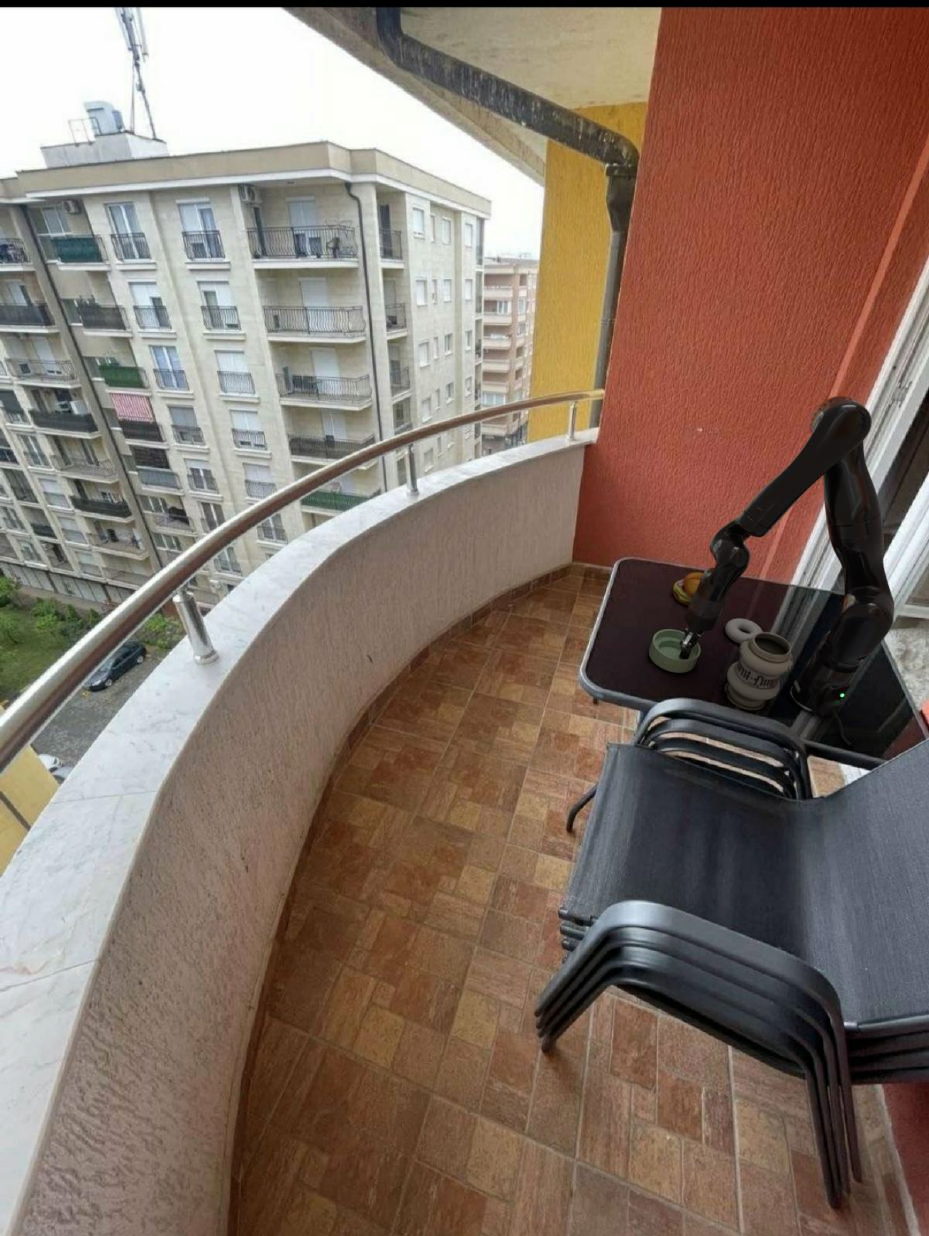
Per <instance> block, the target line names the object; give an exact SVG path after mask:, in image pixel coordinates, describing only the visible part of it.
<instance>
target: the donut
mask: <svg viewBox="0 0 929 1236" xmlns="http://www.w3.org/2000/svg"><path fill="white" fill-rule="evenodd" d="M724 627H725V628H724V629H725V633H726V635H727V637H728V638H729V639H730V640H732V641H733V642H734V643H737V644H739V645H741V643H742V642H743V641H744V640H746V639H748V638H751V637H753V636H754V635H755V634H757V633H760V632H764V631H763V630H762V628H761V627H760V626H759V625H758V624H757V623H755V622H754V621H752V620H749V619H747V618H740V617H739V618H733V619H731V620H729V621H727V623H726V624H725V626H724Z"/></svg>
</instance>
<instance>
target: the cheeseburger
mask: <svg viewBox="0 0 929 1236" xmlns="http://www.w3.org/2000/svg"><path fill="white" fill-rule="evenodd" d="M702 575H703V573H702V572H699V571H697V572H696V571H695V572H691V573H688V574H687V575H685V577H683V578H682V579H680V580H677V581H676V582H675V583H674V585H673V589H672V593H673V596H674V599H675V600H677V601H678V602H679V603H681V604H683V605H685V606H689V603H690V601H691V598H692V596H693V594H694V592H695V591H696V589H697V587H698V584H699V582H700V579H701V577H702Z"/></svg>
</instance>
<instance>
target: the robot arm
mask: <svg viewBox="0 0 929 1236" xmlns="http://www.w3.org/2000/svg"><path fill="white" fill-rule="evenodd" d="M872 422H873V421H872V415H871V413H870V411H869V409H868V408H867V407H865V406H864V405H863V404H862V403H861V402H860V401H859V400H857V399H855V398H852V397H850V396H846V395H845V396H844V395H837V396H832V397H829V398H827V399H826V400H824V401H822V402H821V403H820V404H819V405H818V406H817V407H816V408H815V410H814V411H813V413H812V414H811V418H810V420H809V426H808V427H809V432H810V435H809V438H808V439H807V441H806V443H805V444H804V446H803V447H802V448H801V450H800V451H799V453H798V454H797V455H796V456H795V458H794V459H793V460H792V461H791V462H790V463H789V464H788V465H787V467H785V468H784V469H783V470H782V471H781V472H779V473H778V474H777V475H776V476H775V477H774V478H773V479H771V480H770V481H769V482H768V483H767V484H765V486H764V487H762V488H761V489H760V490H759V491H758V492H757V493H756V495H755V496H754V497H753V498H752V499H751V500H750V502H749V503H748V504H747V505H746V507H744V509H743V510H742V511H741V513H740V514H739V515H737V516H736V517H734V518H733V519H732V520H731V521H729V522H728V523H726V524H725V525H724V526H722V527H721V528H720V529H719V530H718V531H717V532H716V533H715V534H714V535H713V537H712V538H711V540H710V543H709V551H710V554H711V556H712V557H713V560H714V562H715V566H714V567H709V568H707V569H705V570H704V572H703V573H702V574H703V575H702V577H701V579H700V582H699V584H698V587H697V589H696V591H695V592H694V594H693V596H692V598H691V601H690V603H689V605H687V607H686V608H687V609H686V611H685V613H684V616H683V618H684V619H683V620H684V622H685V623H686V625H687V626H686V628H685V629H684V631H683V632H684V633H685V635H684V637H683V640H681V641H680V642H679V648H680V650H681V652H680V655H679V658H680V659H682V660H686V659H688V658H689V656H690V654H691V652H692V650H693V648H695V646H696V644H697V643H698V644H699V642H700V641H701V639H702V637H703V635H704V634H705V633H706V632H710V631H712V630H713V629H714V628H715V627H716V625H717V622H718V621H719V618H720V616H721V615H722V612H723V610H724V607H725V605H726V601H727V598H728V596H729V594H730V592H731V590H732V587H733V585H735V583H736V582H737V581H738V580H739V579H740V578H741V576H742V575H744V573H745V572H746V570H747V569H748V567H749V565H750V564H751V563H750V562H751V551H750V549H749V547H748V546H747V545H746V544H747V543H745V542H746V541H747V540H748V539H749V538H750V537H754V538H763V537H765V536H766V535H768V534H769V533H770V532H771V531H772V529H773V528H774V527H775V526H776V525H777V524H778V523H779V522H780V520H782V518H783V517H784V516H785V515H786V513H788V511H789V510H790V509H791V508H792V507H793V506H794V505H795V504H796V502H797V501H798V500H800V499H801V497H802V496H804V494H805V493H806V492H807V491H808V490H809V489H810V488H811V487H813V485H814V484H815V483H816V482H817V481H818V480H819V479H821V478H822V486H823V487H822V489H823V502H824V513H825V520H826V526H827V533H828V538H829V542H830V546H831V547H832V550H833V552H834V554H835V556H836V558H837V560H838V562H839V563H840V566H841V569H842V573H843V585H844V594H843V595H844V597H843V603H842V609H841V613H840V614H839V617H838V618H837V619H836V621H835V623H834V625H833V626H832V627H831V629H830V630H829V631H827V632H826V633H825V634H824V635H823V637H822V638H821V640H820V642H819V643H818V645H817V647H816V648H815V650H814V652H813V653H812V655H811V656H810V658H809V660H808V661H807V662H806V664H805V666H804V667H803V669H802V670H801V672H800V674H799V676H797V679H795V680H794V682H793V685H792V686H791V688H790V689H789V698H790V699H791V701H792V702H793V703H794V704H795V705H796V706H797V707H798V708H800V709H802V710H803V711H805V712H808V713H809V714H811V715H812V716H818V715H820V716H822V717H825V716H830V715H833V717H834V718H835V720H836V722H837V723H838V727H839V736H840V738H841V739H842V741H843V742H844V743H845V744H846V745H847V746H848V747H850V746H852V743H851V741H849V740H848V739H847V738H846V736H845V733H844V732H845V731H844V730H845V729H844V725H843V722H842V721H841V718H840V716H839V714H838V711H839V710H840V709H841V707H842V706H843V703H842V702H841V700H842V699H843V697H845V694H846V693H847V691H848V690H849V689H850V687H851V685H852V684H851V682H850V680H851V679H852V677H853V676H854V675H855V673H856V672H857V671H858V669H859V668H860V666H861V665H862V664H863V662H864V661H865V659H866V658H868V657H870V656H871V655H872V654H873V653H874V652H875V650H876V649H877V648H878V647H879V645H880V644H881V643H882V641H883V640H884V639H885V638H886V636H887V635H888V633H889V632H890V630H891V628H892V626H893V624H894V618H895V601H894V597H893V594H892V591H891V587H890V585H889V581H888V578H887V574H886V570H885V563H884V553H885V538H884V537H885V536H884V524H883V518H882V517H883V516H882V510H881V506H880V505H881V504H880V501H879V497H878V494H877V491H876V487H875V485H874V482H873V480H872V479H873V478H872V476H871V473H870V471H869V469H868V466H867V462H866V457H865V445H864V444H865V443H864V441H865V439H866V438H867V437H868V435H869V433H870V431H871V429H872Z"/></svg>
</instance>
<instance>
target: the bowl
mask: <svg viewBox="0 0 929 1236" xmlns="http://www.w3.org/2000/svg"><path fill="white" fill-rule="evenodd" d="M684 632H685V631H682V630H678V629H672V628H671V629H670V628H669V629H668V628H667V629H665V628H664V629H661V630H658V631H657V632H655V633H654V635H653V637H652V640H651V643H650V645H649V648H648V656H649V658H650V659H651V661H652V662H653V664H655V665H656V666H658V667H660V668H661V669H662V670H664V671H667V672H669V673H670V672H671V673H676V674H681V673H682V674H684V673H687V672H690V671H692V670H693V669H694V668H695V667H696V664H697V661H698V659H699V657H700V654H701V651H702V650H701V646H700V643H699V642H698V643H697V644H696V646H695V648H693V650H692V652H691V654H690V656H689V658H688V659H686V660H682V659H680V658H679V655H680V652H681V650H680V648H679V642H680V641H681V640H683V637H684V635H685V633H684Z"/></svg>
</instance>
